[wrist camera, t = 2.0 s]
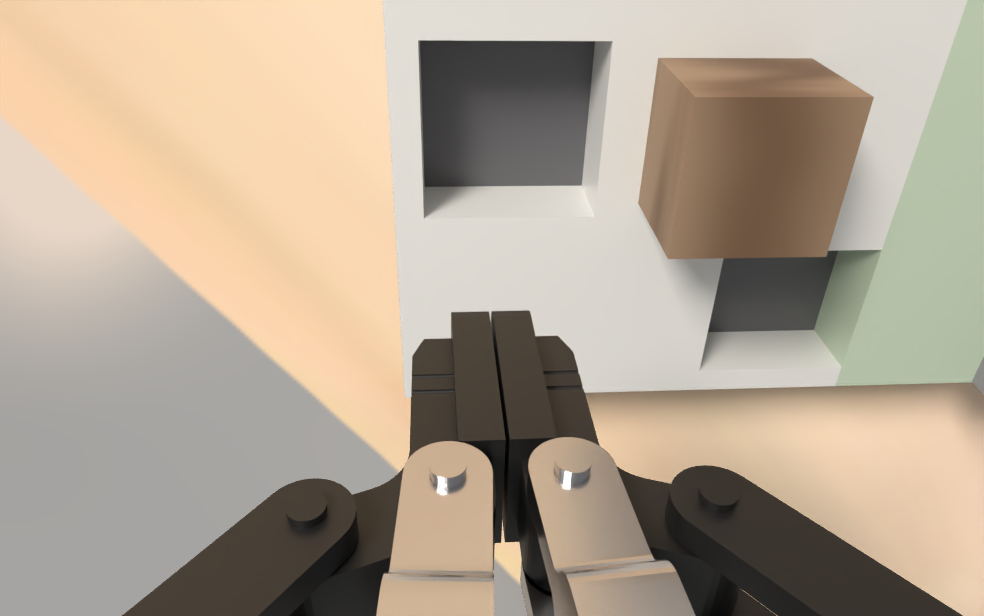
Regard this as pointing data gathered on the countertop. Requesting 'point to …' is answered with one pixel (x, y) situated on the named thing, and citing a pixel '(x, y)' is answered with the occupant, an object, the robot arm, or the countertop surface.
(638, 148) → the box
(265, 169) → the countertop surface
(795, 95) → the walnut block
